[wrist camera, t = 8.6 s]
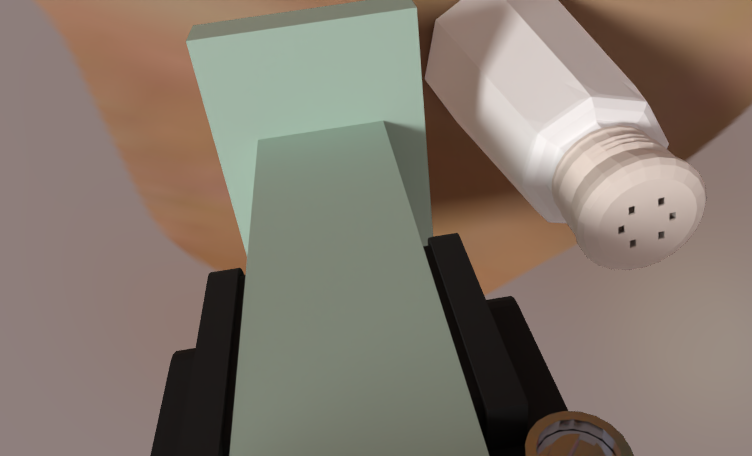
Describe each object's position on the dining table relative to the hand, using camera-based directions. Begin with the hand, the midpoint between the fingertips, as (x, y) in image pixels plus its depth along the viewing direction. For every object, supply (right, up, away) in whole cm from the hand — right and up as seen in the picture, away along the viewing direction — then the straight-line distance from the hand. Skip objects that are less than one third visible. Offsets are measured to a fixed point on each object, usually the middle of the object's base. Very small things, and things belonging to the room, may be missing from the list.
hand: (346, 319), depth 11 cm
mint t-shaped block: (-1, +3, +5) cm, 6 cm away
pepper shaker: (+5, +8, +11) cm, 14 cm away
